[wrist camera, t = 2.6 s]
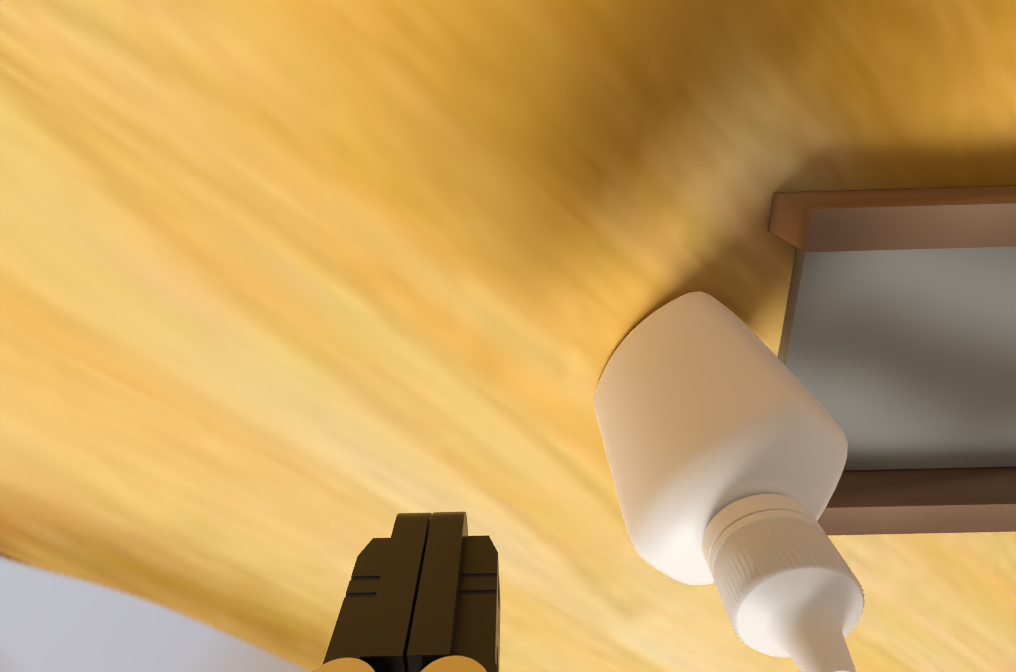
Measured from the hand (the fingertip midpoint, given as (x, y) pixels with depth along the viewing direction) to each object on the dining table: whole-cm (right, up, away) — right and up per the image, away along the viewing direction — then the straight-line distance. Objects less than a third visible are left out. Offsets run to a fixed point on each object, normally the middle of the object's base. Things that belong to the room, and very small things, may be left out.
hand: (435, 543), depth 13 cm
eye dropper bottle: (+7, +4, +8) cm, 11 cm away
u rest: (+16, +4, +7) cm, 18 cm away
